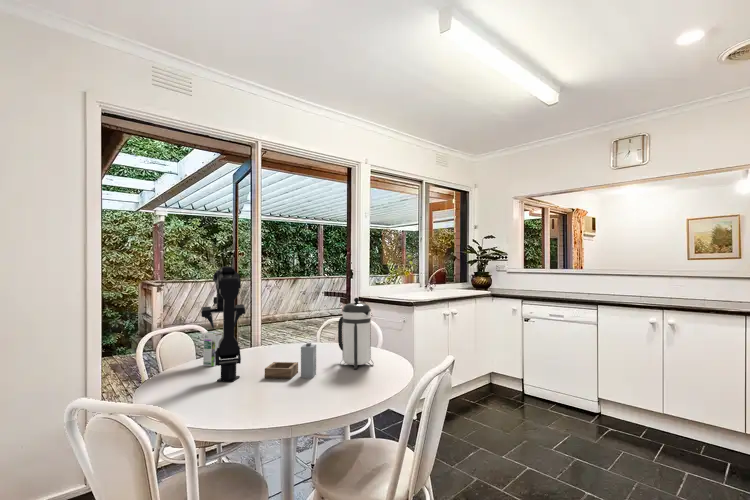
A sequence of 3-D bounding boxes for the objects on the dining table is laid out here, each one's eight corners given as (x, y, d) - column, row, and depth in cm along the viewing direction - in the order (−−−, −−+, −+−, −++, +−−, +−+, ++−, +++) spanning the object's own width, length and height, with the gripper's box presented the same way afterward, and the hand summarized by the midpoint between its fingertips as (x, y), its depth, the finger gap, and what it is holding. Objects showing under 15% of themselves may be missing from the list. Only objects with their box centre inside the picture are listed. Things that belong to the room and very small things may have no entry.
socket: (290, 379, 150) (290, 369, 150) (264, 378, 151) (264, 368, 151) (298, 372, 160) (298, 362, 160) (273, 371, 161) (273, 362, 161)
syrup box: (202, 365, 171) (202, 333, 172) (211, 362, 177) (212, 330, 178) (213, 366, 170) (213, 333, 170) (222, 363, 175) (222, 331, 176)
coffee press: (375, 361, 178) (375, 296, 180) (371, 370, 162) (371, 298, 164) (338, 360, 180) (338, 296, 181) (331, 369, 164) (331, 298, 165)
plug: (313, 377, 152) (313, 344, 152) (300, 377, 152) (300, 344, 153) (316, 374, 157) (316, 342, 157) (304, 374, 157) (304, 342, 158)
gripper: (243, 289, 188) (243, 318, 192) (201, 291, 181) (202, 322, 185) (245, 297, 178) (245, 328, 182) (201, 299, 171) (202, 332, 175)
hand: (223, 327), depth 181 cm, fingers open, 9 cm apart
